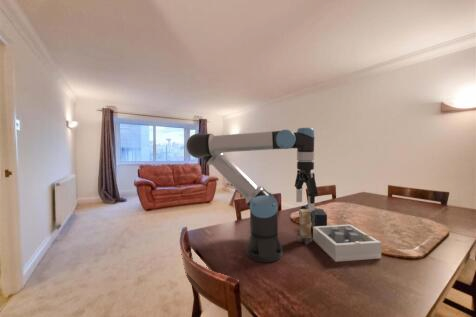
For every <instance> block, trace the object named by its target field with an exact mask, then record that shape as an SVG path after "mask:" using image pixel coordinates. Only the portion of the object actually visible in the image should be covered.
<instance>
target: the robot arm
mask: <svg viewBox="0 0 476 317" xmlns="http://www.w3.org/2000/svg"><path fill="white" fill-rule="evenodd" d="M185 144H186V151H187V152H188V154H189V155H190V156H191V157H193V158H196V159H201V160H203V162H204V163H205V164H207V165H209V166H211V165H212V166H213V167H214V168H215V169H216V171H218V172H219V173H220V174H221V175H222V176H223V178H225V180H226V181H227V182H229V183H230V184H231V185H232V187H233V188H234V189H236V191H237V192H238V193H240V195H241V196H242V197H243V198H244V199H245V204H246V205H247V207H249V211H250V213H249V214H250V215H249V216H250V221H249V222H250V224H249V225H250V235H249V239H248V242H247V245H246V255H247V257H249V258H250V259H251V260H253V261H255V262H260V263H273V262H277V261H278V260H280V259H282V257H283V246H282V244H281V241H280V238H279V217H278V213H279V203H278V201H277V199H276V197H275V196H274V195H273V194H272V193H271V192H269V191H267V190H266V189H265V188H264V187H263V186H258V185H257V184H256V183H255V182H254V181H253V180H252V178H250V177H249V176H248V175H247V174H246V173H245V172H244V171H243V170H242V169H241V168H240V167H239V166H238V165H237V164H236V163H235V162H234V161H233V160H232V159H231V158H230V157H229V156H228V155H227V154H226V153H234V152H236V153H237V152H252V151H254V152H256V151H268V150H270V151H271V150H289V149H297V150H296V160H297V162H296V169H297V170H296V178H295V182H294V187H295V189H296V196H295V197H296V203H303V185H304V184H305V185H306V186H305V187H306V189H307V192H308V193H307V205H308V210H309V211H310V210H315V208H316V207H315V206H316V203H315V201H316V198H315V197H316V196H318V194H319V193H318V188H317V183H316V178H315V177H316V174H315V172H311V171H313V170H314V169H315V162H314V160H315V129H314V128H313V127H299V128H297V131H296V132H294V131H291V130H289V129H282V130H274V131H260V132H249V133H247V132H246V133H235V134H231V133H230V134H221V135H214V134H213V133H200V132H199V133H198V132H197V133H194V134H191V136H190V137H188V138H187V141H186V143H185Z"/></svg>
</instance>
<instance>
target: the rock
mask: <svg viewBox="0 0 476 317" xmlns="http://www.w3.org/2000/svg"><path fill="white" fill-rule="evenodd" d="M300 209H308V204H306V205H302V206H301V207H300V208H299V212H298V214H299V216H300ZM315 209H317V208H316V207H315ZM310 211H311V221H312V210H310Z"/></svg>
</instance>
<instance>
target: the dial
mask: <svg viewBox="0 0 476 317" xmlns="http://www.w3.org/2000/svg"><path fill="white" fill-rule="evenodd" d="M328 236H329V237H330V238H331V239H332V240H334V241H335V242H336V243H350V242H356V241H359V242H364V240H363V239H359V236H358V234H357V233H353V229H352V228H351V227H344V233H342V232H339V228H338V227H331V233H330V234H329V235H328Z"/></svg>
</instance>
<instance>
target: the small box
mask: <svg viewBox="0 0 476 317" xmlns="http://www.w3.org/2000/svg"><path fill="white" fill-rule="evenodd" d="M315 226H328V215H327V213H326V211H324V209H323V208H322V209H321V208H316V209H315V210H312V220H311V230H313V227H315Z"/></svg>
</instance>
